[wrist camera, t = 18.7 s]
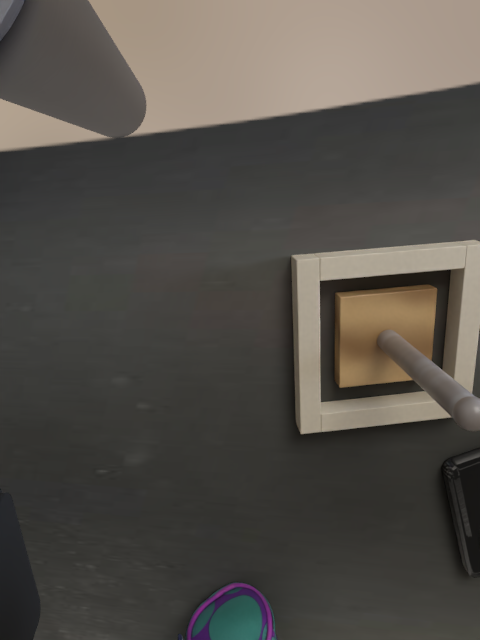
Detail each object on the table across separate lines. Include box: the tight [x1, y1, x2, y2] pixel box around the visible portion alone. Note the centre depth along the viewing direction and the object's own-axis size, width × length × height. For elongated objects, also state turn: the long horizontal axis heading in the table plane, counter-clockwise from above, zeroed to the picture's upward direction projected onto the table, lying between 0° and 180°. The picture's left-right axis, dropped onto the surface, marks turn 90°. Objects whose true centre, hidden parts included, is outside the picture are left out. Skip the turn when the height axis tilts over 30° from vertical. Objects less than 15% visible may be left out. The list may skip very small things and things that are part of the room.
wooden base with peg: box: [335, 284, 480, 431], centre depth 32 cm, size 8×8×14 cm
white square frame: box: [291, 240, 480, 434], centre depth 38 cm, size 15×15×2 cm
